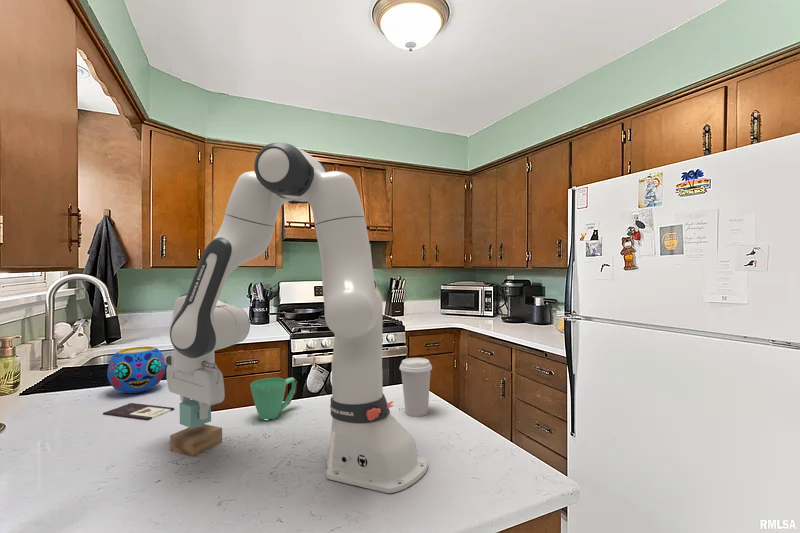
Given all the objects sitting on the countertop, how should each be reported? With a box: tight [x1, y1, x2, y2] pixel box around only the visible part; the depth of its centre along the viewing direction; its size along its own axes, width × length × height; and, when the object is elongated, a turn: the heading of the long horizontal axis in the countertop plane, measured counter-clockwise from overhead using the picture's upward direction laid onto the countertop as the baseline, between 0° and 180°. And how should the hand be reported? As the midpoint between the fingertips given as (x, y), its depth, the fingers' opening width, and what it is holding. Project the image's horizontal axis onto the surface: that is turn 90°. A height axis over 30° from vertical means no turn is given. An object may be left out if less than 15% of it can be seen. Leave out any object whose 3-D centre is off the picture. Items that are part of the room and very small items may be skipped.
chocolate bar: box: [102, 402, 175, 421], centre depth 122 cm, size 9×1×18 cm
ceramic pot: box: [106, 345, 167, 394], centre depth 144 cm, size 18×18×15 cm
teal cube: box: [179, 399, 212, 428], centre depth 97 cm, size 5×5×5 cm
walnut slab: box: [169, 423, 223, 458], centre depth 97 cm, size 8×8×4 cm
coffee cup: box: [399, 357, 433, 418], centre depth 117 cm, size 10×10×15 cm
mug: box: [249, 377, 298, 420], centre depth 118 cm, size 15×10×10 cm
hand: (195, 415), depth 97 cm, fingers closed on teal cube, 5 cm apart
